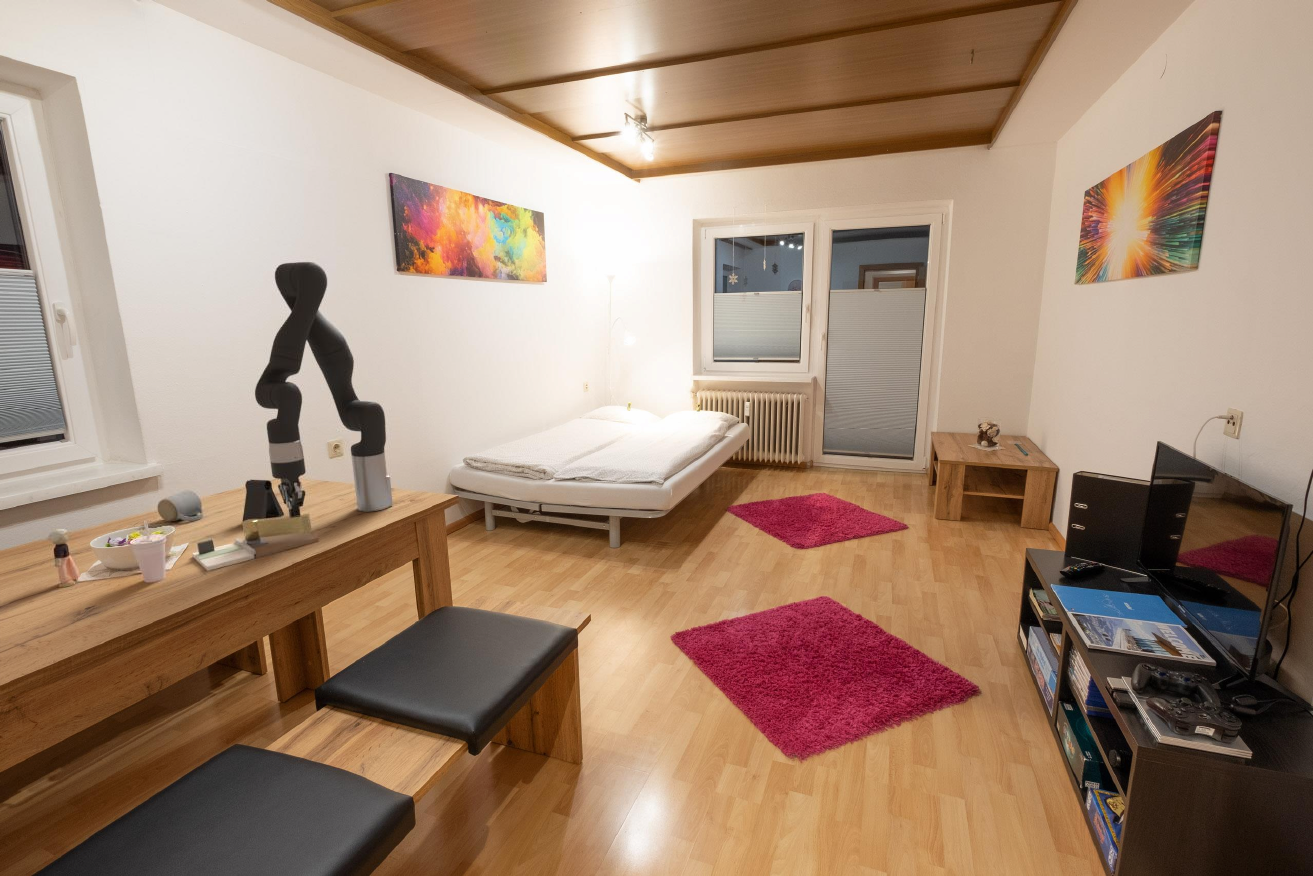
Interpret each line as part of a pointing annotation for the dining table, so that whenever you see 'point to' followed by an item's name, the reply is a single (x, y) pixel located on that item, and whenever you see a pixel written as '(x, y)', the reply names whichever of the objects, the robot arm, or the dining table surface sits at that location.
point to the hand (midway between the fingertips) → (295, 521)
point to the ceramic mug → (181, 507)
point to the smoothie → (150, 555)
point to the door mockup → (247, 549)
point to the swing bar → (276, 526)
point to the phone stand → (261, 501)
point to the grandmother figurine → (63, 558)
